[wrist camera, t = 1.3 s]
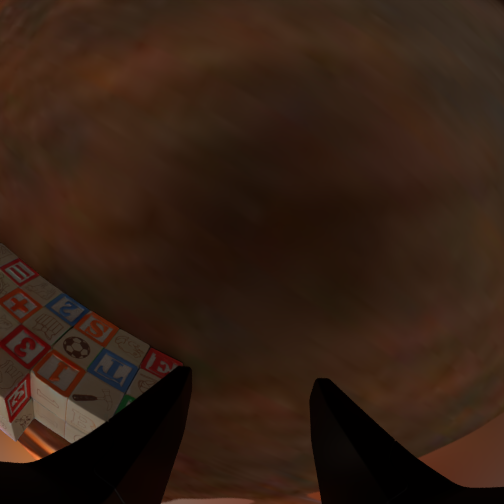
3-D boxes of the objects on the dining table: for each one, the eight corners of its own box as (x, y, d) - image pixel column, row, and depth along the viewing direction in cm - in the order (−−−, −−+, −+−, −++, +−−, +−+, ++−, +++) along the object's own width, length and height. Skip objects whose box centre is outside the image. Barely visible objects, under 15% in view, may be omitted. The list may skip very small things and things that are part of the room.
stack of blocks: (186, 360, 23) (146, 486, 11) (163, 401, 24) (126, 508, 12) (1, 241, 20) (-91, 286, 8) (-3, 291, 22) (-78, 344, 10)
